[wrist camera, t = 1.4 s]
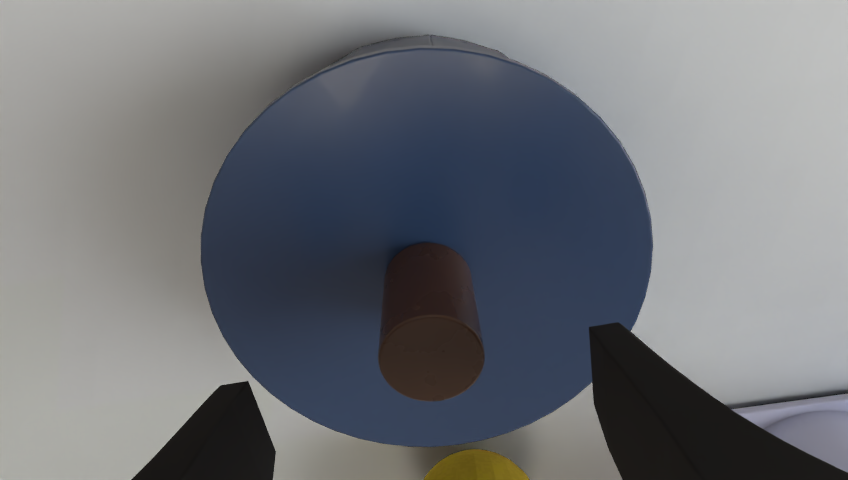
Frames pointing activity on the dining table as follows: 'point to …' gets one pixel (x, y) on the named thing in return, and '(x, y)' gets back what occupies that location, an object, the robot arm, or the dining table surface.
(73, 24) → the dining table surface
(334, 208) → the pot lid
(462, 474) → the lemon
